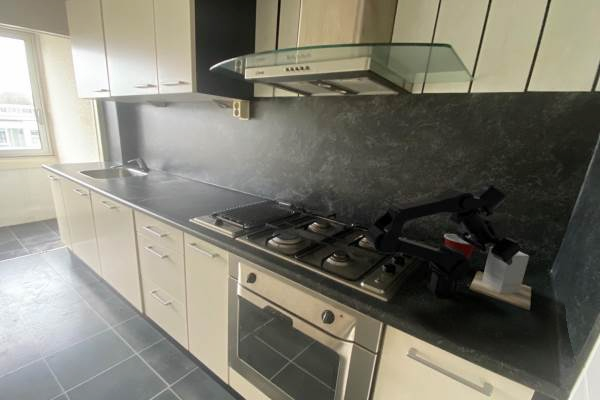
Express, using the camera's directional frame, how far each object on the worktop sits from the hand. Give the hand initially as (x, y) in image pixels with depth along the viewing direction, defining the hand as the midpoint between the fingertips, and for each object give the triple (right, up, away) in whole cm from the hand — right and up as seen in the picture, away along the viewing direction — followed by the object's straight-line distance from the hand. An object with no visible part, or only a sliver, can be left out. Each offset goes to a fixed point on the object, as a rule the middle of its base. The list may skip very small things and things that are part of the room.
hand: (497, 257), depth 85 cm
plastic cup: (-4, -8, +17) cm, 19 cm away
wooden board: (+3, -11, +4) cm, 12 cm away
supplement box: (+3, -11, +3) cm, 12 cm away
